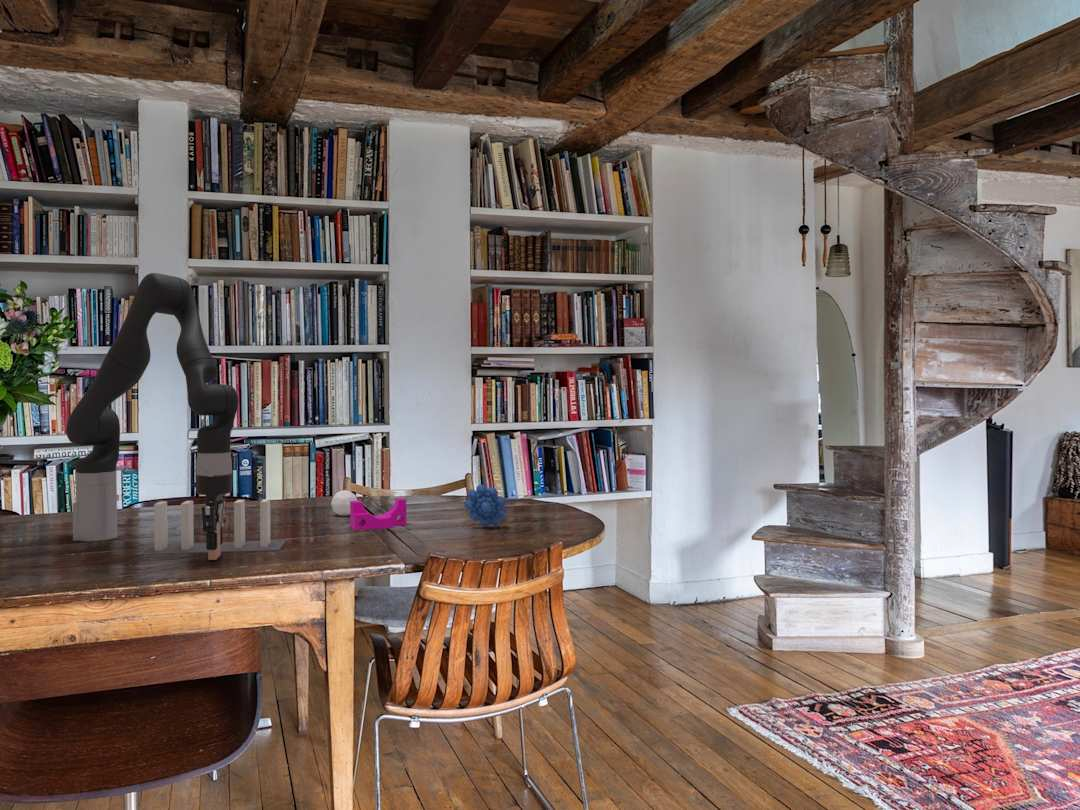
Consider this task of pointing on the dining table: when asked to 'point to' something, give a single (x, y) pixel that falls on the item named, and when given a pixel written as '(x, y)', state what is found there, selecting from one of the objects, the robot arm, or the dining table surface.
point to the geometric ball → (342, 502)
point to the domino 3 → (216, 553)
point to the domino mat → (201, 548)
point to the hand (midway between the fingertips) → (214, 546)
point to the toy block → (377, 521)
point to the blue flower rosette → (485, 506)
